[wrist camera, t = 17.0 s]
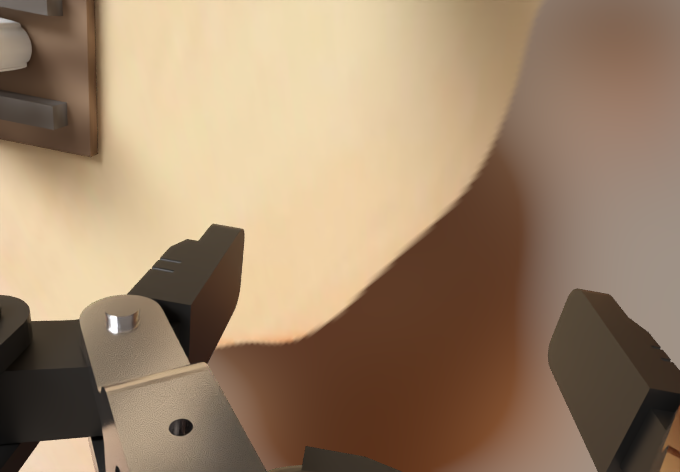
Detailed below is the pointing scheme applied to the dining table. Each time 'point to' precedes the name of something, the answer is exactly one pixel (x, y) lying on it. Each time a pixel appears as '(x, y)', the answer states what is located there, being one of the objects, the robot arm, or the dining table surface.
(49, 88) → the cradle
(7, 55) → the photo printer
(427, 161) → the dining table surface
